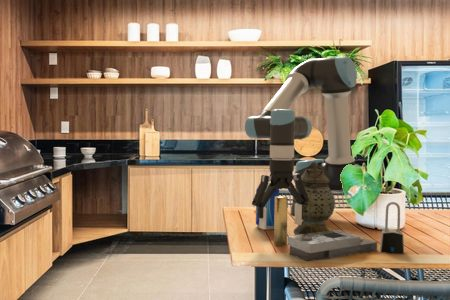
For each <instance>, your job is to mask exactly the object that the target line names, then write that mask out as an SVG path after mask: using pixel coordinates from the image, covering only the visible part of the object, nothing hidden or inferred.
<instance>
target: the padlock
mask: <svg viewBox="0 0 450 300" xmlns="http://www.w3.org/2000/svg"><path fill="white" fill-rule="evenodd" d="M392 205H395V206H396V207H397V225H396V226H397V227H396V228H397V229H389V227H388V225H389V207H390V206H392ZM384 221H385V224H384V227H385V228H384V229H382V230H381V235H380V243H379V252H380V253H383V252H386V253H385V254H392V253H395V254H397V255H405V245H404V244H405V242H404V233H403V231H401V206H400V204H399V203H397V202H395V201H391V202H388V203H387V205H386V207H385V219H384Z"/></svg>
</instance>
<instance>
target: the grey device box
mask: <svg viewBox="0 0 450 300" xmlns="http://www.w3.org/2000/svg"><path fill="white" fill-rule="evenodd" d="M287 245H288V246H289V255H291V256H293V257H296V258H298V259H301V260H303V261H305V262H310V261H317V260H321V259H329V260H330V259H335V258H341V257H347V256H352V255H353V256H354V255H358V253H359V254H363V253H364V252H365V253H370V252H374V251H377V250H378V242H377V241H375V240H371V239H369V238H365V237H363V236H361V235H357V234H353V233H349V232H347V231H343V230H339V229H333V230H332V229H330V231H323V232H316V233H309V234H301V235H296V234H295V235H289V236H288V235H287Z"/></svg>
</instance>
